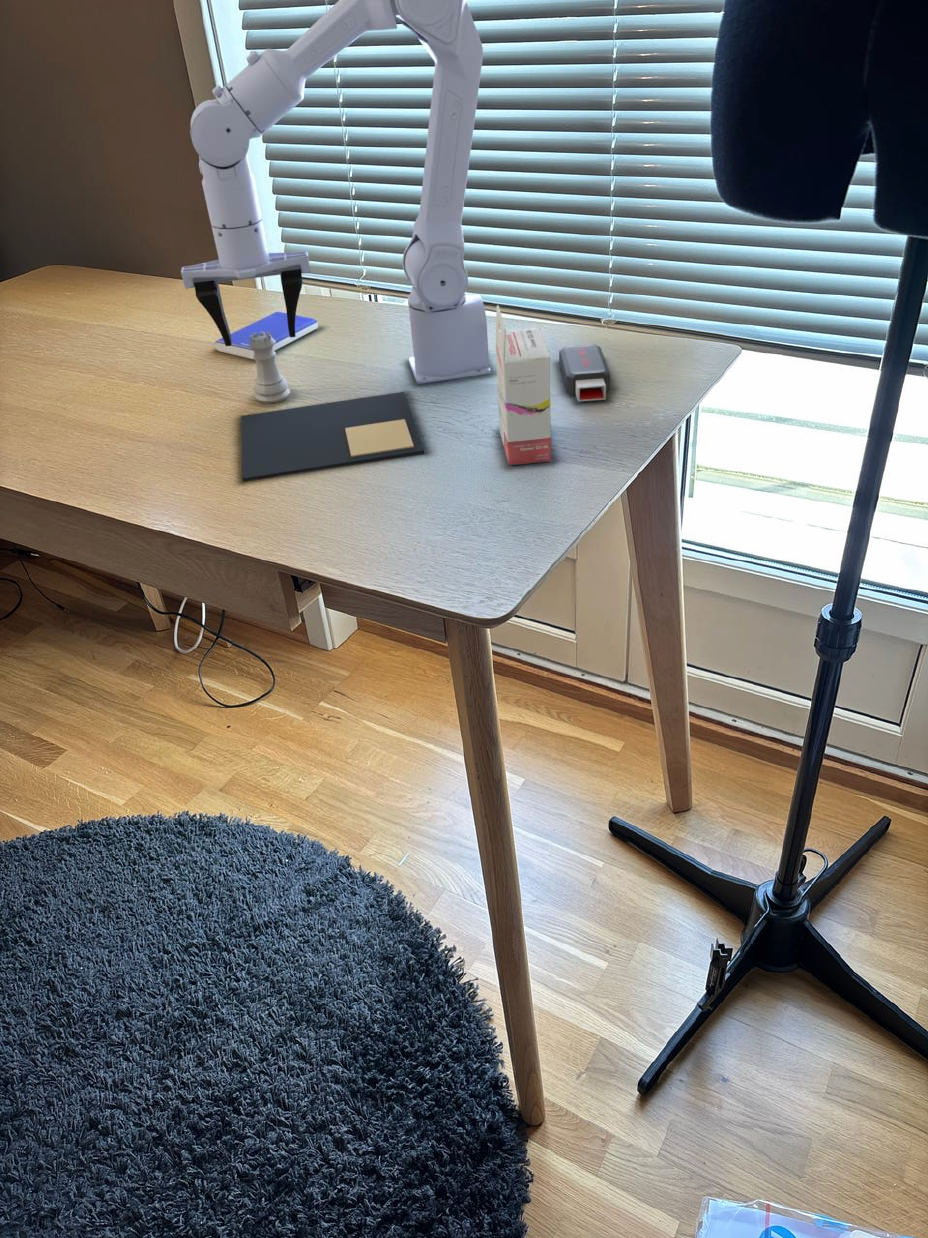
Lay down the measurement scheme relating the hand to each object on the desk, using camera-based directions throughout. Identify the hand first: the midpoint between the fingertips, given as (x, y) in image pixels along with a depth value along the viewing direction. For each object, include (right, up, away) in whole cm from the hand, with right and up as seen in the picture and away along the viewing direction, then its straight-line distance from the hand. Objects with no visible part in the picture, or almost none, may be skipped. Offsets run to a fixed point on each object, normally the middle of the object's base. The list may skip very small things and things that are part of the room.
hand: (260, 338), depth 116 cm
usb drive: (+39, -5, +2) cm, 40 cm away
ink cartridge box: (+31, -15, -10) cm, 36 cm away
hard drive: (-3, +6, +20) cm, 21 cm away
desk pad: (+9, -13, -5) cm, 16 cm away
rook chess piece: (+1, -6, +5) cm, 8 cm away
